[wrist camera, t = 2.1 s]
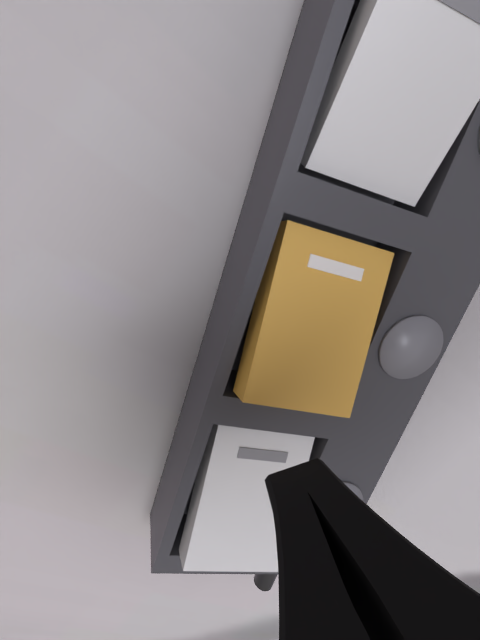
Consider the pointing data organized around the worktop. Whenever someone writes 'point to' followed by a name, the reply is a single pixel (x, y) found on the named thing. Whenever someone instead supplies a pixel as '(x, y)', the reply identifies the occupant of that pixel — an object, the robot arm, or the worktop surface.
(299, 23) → the power strip
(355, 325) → the rocker mid
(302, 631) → the robot arm
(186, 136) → the worktop surface
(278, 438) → the block
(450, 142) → the rocker
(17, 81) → the worktop surface
